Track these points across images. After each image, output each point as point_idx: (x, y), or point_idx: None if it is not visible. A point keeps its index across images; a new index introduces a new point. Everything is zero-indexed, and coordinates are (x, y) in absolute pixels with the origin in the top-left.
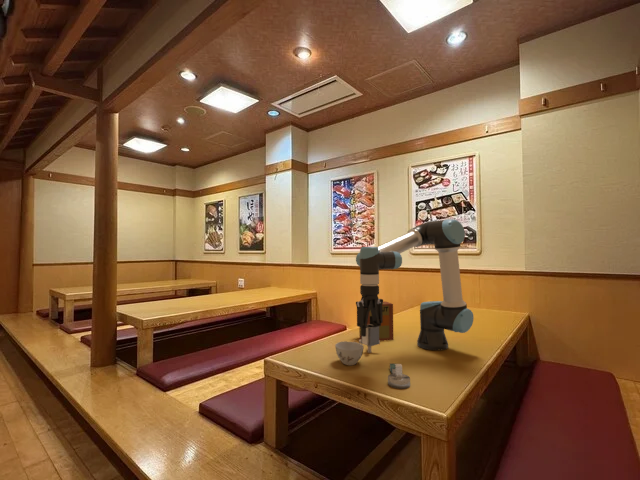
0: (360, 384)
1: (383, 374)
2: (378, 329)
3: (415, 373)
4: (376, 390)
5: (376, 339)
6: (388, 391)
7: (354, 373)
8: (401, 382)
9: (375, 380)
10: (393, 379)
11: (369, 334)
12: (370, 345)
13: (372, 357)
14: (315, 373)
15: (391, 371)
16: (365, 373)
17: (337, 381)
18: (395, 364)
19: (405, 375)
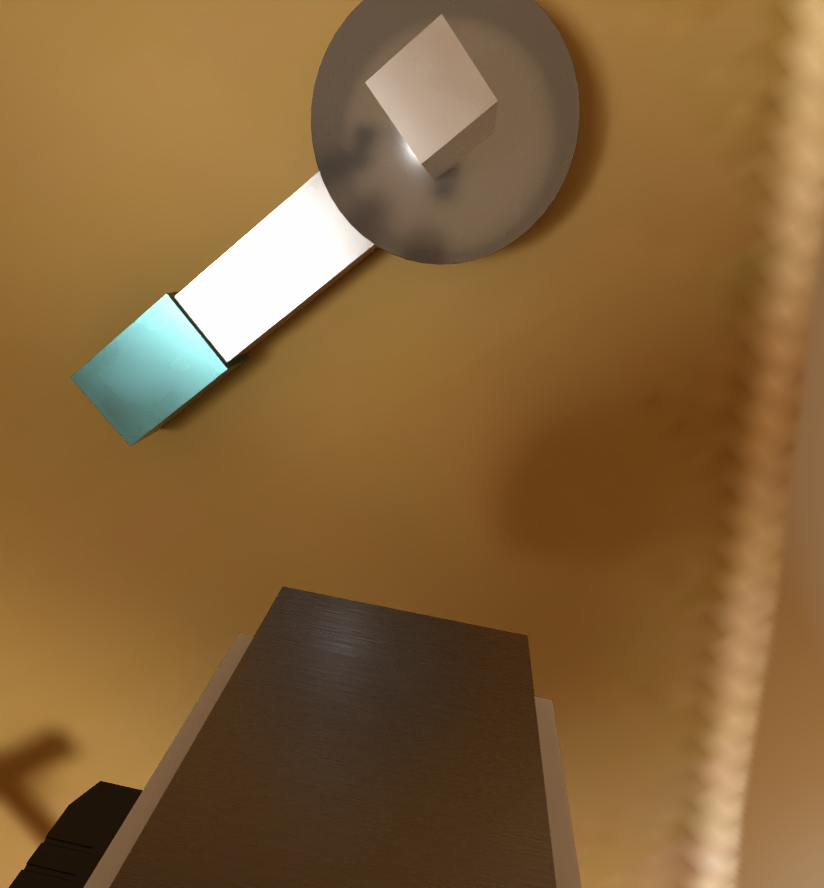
0: (701, 445)
1: (328, 404)
2: (165, 850)
3: (57, 153)
4: (744, 242)
5: (334, 667)
6: (692, 125)
7: (498, 622)
8: (548, 21)
9: (518, 386)
10: (544, 142)
11: (544, 863)
12: (528, 646)
13: (46, 694)
14: (718, 856)
15: (240, 359)
16: (428, 548)
17: (765, 639)
18: (440, 148)
19: (331, 92)
